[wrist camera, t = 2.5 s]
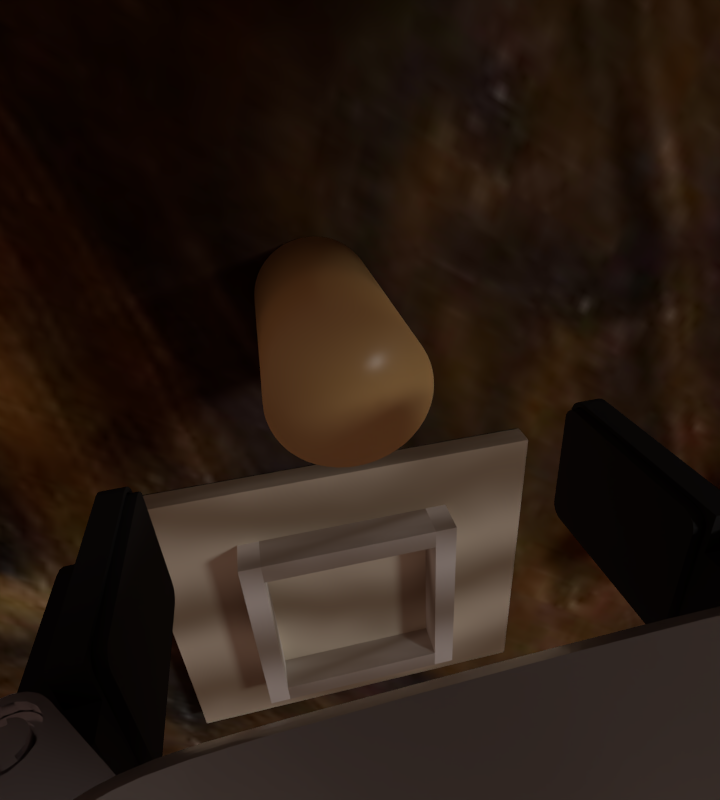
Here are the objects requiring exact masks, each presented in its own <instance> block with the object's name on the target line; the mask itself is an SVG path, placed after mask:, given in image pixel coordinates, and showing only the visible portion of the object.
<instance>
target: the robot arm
mask: <svg viewBox="0 0 720 800" xmlns="http://www.w3.org/2000/svg"><path fill="white" fill-rule="evenodd" d="M554 505H555V510H556V513H557V515H558V517H559V518H560V520H561V521H562V522H563V523H564V524H565V526H566V527H567V528H568V529H569V531H570V532H571V533H572V534H573V535H574V537H575V538H576V539H577V540H578V542H579V543H580V544H581V545H582V547H583V548H584V549H585V550H586V551H587V553H588V554H589V555H590V556H591V558H592V559H593V560H594V561H595V563H596V564H597V565H598V566H599V567H600V569H601V570H602V571H603V572H604V574H605V575H606V576H607V577H608V578H609V580H610V581H611V582H612V583H613V585H614V586H615V587H616V588H617V590H618V591H619V592H620V593H621V594H622V596H623V597H624V598H625V599H626V601H627V602H628V603H629V604H630V606H631V607H632V608H633V609H634V610H635V612H636V613H637V614H638V615H639V617H640V618H641V619H642V620H643V621H644V623H645V625H642V626H638V627H634V628H630V629H626V630H622V631H618V632H614V633H610V634H606V635H603V636H599V637H595V638H591V639H587V640H583V641H579V642H575V643H571V644H567V645H564V646H560V647H556V648H552V649H548V650H544V651H541V652H537V653H533V654H529V655H525V656H521V657H518V658H514V659H510V660H506V661H502V662H498V663H495V664H491V665H487V666H483V667H479V668H476V669H472V670H468V671H464V672H460V673H457V674H453V675H449V676H445V677H441V678H438V679H434V680H430V681H426V682H423V683H419V684H415V685H411V686H408V687H404V688H400V689H396V690H393V691H389V692H385V693H381V694H378V695H374V696H370V697H367V698H363V699H359V700H355V701H352V702H348V703H344V704H341V705H337V706H333V707H329V708H326V709H322V710H318V711H314V712H311V713H307V714H303V715H300V716H296V717H292V718H288V719H285V720H281V721H278V722H274V723H271V724H267V725H264V726H260V727H257V728H253V729H250V730H247V731H243V732H240V733H236V734H233V735H229V736H226V737H222V738H219V739H215V740H212V741H208V742H205V743H201V744H198V745H195V746H192V747H189V748H186V749H183V750H180V751H177V752H174V753H171V754H168V755H165V756H162V752H163V740H164V728H165V716H166V705H167V693H168V681H169V669H170V657H171V645H172V634H173V622H174V610H175V592H174V587H173V583H172V580H171V577H170V574H169V571H168V568H167V565H166V563H165V560H164V557H163V554H162V551H161V548H160V545H159V542H158V539H157V536H156V533H155V530H154V527H153V524H152V521H151V518H150V515H149V512H148V509H147V506H146V504H145V501H144V498H143V495H142V493H141V492H135V493H132V491H131V489H130V488H129V487H123V488H117V489H112V490H107V491H101V492H98V493H97V495H96V497H95V501H94V504H93V507H92V511H91V514H90V517H89V520H88V524H87V527H86V530H85V533H84V537H83V540H82V543H81V546H80V550H79V553H78V556H77V559H76V563H75V564H74V565H69V566H64V567H63V568H61V569H60V570H59V572H58V574H57V576H56V579H55V582H54V585H53V588H52V591H51V594H50V597H49V600H48V603H47V606H46V609H45V612H44V615H43V618H42V621H41V624H40V627H39V630H38V633H37V636H36V639H35V641H34V644H33V647H32V650H31V653H30V656H29V659H28V662H27V665H26V668H25V671H24V674H23V677H22V680H21V683H20V686H19V689H18V692H17V693H15V694H10V695H8V696H5V697H3V698H1V699H0V800H720V490H719V489H718V488H716V487H715V486H714V485H712V484H711V483H710V482H709V481H707V480H706V479H705V478H704V477H702V476H701V475H700V474H698V473H697V472H696V471H695V470H693V469H692V468H691V467H689V466H688V465H687V464H686V463H684V462H683V461H682V460H680V459H679V458H678V457H677V456H675V455H674V454H673V453H671V452H670V451H669V450H668V449H666V448H665V447H664V446H662V445H661V444H660V443H659V442H657V441H656V440H655V439H654V438H652V437H651V436H650V435H648V434H647V433H646V432H645V431H643V430H642V429H641V428H639V427H638V426H637V425H636V424H634V423H633V422H632V421H630V420H629V419H628V418H627V417H625V416H624V415H623V414H621V413H620V412H619V411H618V410H616V409H615V408H614V407H613V406H611V405H610V404H609V403H607V402H606V401H605V400H603V399H594V400H589V401H584V402H578V403H576V404H574V406H573V407H572V410H570V411H568V413H567V414H566V419H565V427H564V434H563V441H562V449H561V456H560V464H559V471H558V479H557V486H556V493H555V501H554Z"/></svg>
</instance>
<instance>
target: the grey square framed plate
mask: <svg viewBox="0 0 720 800" xmlns="http://www.w3.org/2000/svg"><path fill="white" fill-rule="evenodd" d="M527 445H528V439H527V438H526V437H525V436H524V435H523V433H522V432H521V431H520V430H519V429H513V430H507V431H501V432H496V433H490V434H485V435H479V436H473V437H468V438H462V439H457V440H451V441H446V442H440V443H434V444H429V445H423V446H418V447H412V448H407V449H401V450H396V451H394V452H392V453H391V454H389V455H387V456H385V457H383V458H381V459H379V460H376V461H374V462H371V463H368V464H364V465H360V466H354V467H339V468H337V467H326V466H321V465H312V466H306V467H301V468H295V469H289V470H284V471H278V472H273V473H267V474H261V475H256V476H250V477H245V478H239V479H234V480H228V481H222V482H217V483H211V484H206V485H200V486H195V487H189V488H183V489H178V490H172V491H167V492H161V493H155V494H150V495H144V496H143V498H144V501H145V504H146V506H147V509H148V512H149V515H150V518H151V521H152V524H153V527H154V530H155V533H156V536H157V539H158V542H159V545H160V548H161V551H162V554H163V557H164V560H165V563H166V565H167V568H168V571H169V574H170V577H171V580H172V583H173V587H174V592H175V610H174V622H173V634H174V636H175V639H176V642H177V644H178V647H179V650H180V652H181V655H182V658H183V660H184V663H185V666H186V668H187V671H188V674H189V676H190V679H191V682H192V684H193V687H194V689H195V692H196V695H197V697H198V700H199V703H200V705H201V708H202V711H203V713H204V716H205V719H206V721H207V723H210V722H215V721H219V720H223V719H227V718H231V717H235V716H240V715H244V714H248V713H252V712H256V711H260V710H264V709H269V708H273V707H277V706H281V705H285V704H289V703H294V702H298V701H302V700H306V699H310V698H314V697H318V696H323V695H327V694H331V693H335V692H339V691H343V690H348V689H352V688H356V687H360V686H364V685H368V684H373V683H377V682H381V681H385V680H389V679H393V678H397V677H402V676H406V675H410V674H414V673H418V672H422V671H427V670H431V669H435V668H439V667H443V666H447V665H451V664H456V663H460V662H464V661H468V660H472V659H476V658H481V657H485V656H489V655H493V654H497V653H501V652H504V646H505V637H506V629H507V620H508V611H509V602H510V594H511V585H512V576H513V567H514V559H515V550H516V541H517V532H518V523H519V515H520V506H521V497H522V488H523V480H524V471H525V462H526V453H527Z"/></svg>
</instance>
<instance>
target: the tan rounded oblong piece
mask: <svg viewBox="0 0 720 800" xmlns="http://www.w3.org/2000/svg"><path fill="white" fill-rule="evenodd" d="M254 301H255V313H256V325H257V338H258V350H259V363H260V375H261V387H262V400H263V408H264V414H265V417H266V421H267V423H268V425H269V428H270V430H271V431H272V433H273V434H274V436H275V437H276V439H277V440H278V441H279V442H280V443H281V444H282V446H284V447H285V448H286V449H287V450H288V451H289V452H291V453H292V454H294V455H296V456H297V457H299V458H301V459H303V460H305V461H307V462H310V463H313V464H316V465H321V466H326V467H337V468H339V467H354V466H360V465H364V464H368V463H371V462H374V461H376V460H379V459H381V458H383V457H385V456H387V455H389V454H391V453H392V452H394V451H396V450H397V449H398V448H400V447H401V446H402V445H404V444H405V443H406V442H407V441H408V440H409V439H410V438H411V437H412V436H413V435H414V434H415V432H416V431H417V430H418V429H419V427H420V426H421V424H422V423H423V421H424V419H425V417H426V415H427V413H428V411H429V408H430V405H431V402H432V397H433V391H434V378H433V371H432V367H431V363H430V361H429V358H428V356H427V354H426V352H425V350H424V349H423V347H422V346H421V344H420V343H419V341H418V340H417V338H416V337H415V336H414V334H413V333H412V331H411V330H410V329H409V327H408V326H407V324H406V323H405V321H404V320H403V319H402V317H401V316H400V314H399V313H398V312H397V310H396V309H395V307H394V306H393V304H392V303H391V302H390V300H389V299H388V297H387V296H386V295H385V293H384V292H383V290H382V289H381V287H380V286H379V285H378V283H377V282H376V280H375V279H374V278H373V276H372V275H371V273H370V272H369V270H368V269H367V268H366V266H365V265H364V263H363V262H362V261H361V259H360V258H359V257H358V256H357V254H356V253H354V252H353V251H352V250H351V249H350V248H349V247H347V246H346V245H344V244H342V243H340V242H338V241H336V240H333V239H330V238H325V237H317V236H311V237H303V238H298V239H295V240H292V241H290V242H288V243H286V244H284V245H282V246H281V247H279V248H278V249H276V250H275V251H274V252H273V253H272V254H271V255H270V256H269V257H268V258H267V259H266V261H265V262H264V264H263V265H262V267H261V269H260V271H259V273H258V275H257V279H256V282H255V289H254Z"/></svg>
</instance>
